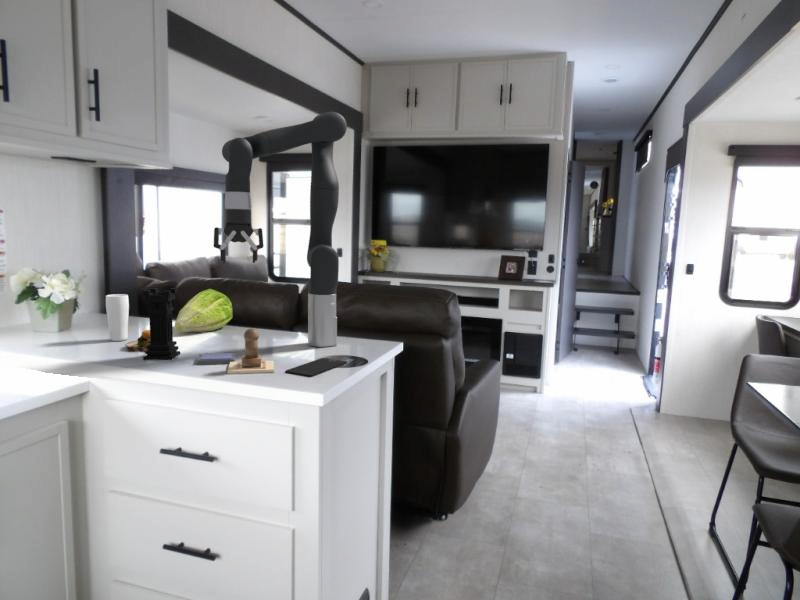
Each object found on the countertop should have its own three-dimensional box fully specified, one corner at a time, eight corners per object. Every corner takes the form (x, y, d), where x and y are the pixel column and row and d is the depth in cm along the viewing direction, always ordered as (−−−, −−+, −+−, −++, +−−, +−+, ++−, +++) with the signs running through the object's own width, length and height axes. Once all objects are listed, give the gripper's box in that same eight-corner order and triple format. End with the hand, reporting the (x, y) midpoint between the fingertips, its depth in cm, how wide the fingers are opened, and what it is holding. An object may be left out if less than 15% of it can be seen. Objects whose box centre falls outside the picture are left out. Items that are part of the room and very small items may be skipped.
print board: (273, 363, 159) (273, 359, 159) (274, 372, 150) (273, 368, 149) (230, 364, 156) (230, 361, 156) (227, 373, 147) (227, 370, 147)
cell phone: (347, 364, 162) (347, 361, 162) (311, 378, 146) (311, 375, 146) (322, 360, 166) (322, 357, 166) (284, 374, 150) (284, 370, 150)
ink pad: (235, 357, 165) (235, 352, 165) (234, 363, 158) (234, 358, 158) (200, 357, 163) (200, 353, 163) (196, 364, 155) (196, 359, 155)
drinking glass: (102, 340, 183) (100, 295, 181) (119, 337, 189) (118, 293, 187) (117, 342, 180) (115, 297, 178) (134, 339, 186) (133, 295, 184)
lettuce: (203, 350, 193) (169, 351, 200) (243, 317, 214) (211, 318, 220) (187, 313, 188) (153, 315, 194) (229, 282, 208) (197, 285, 214)
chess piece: (153, 353, 167) (150, 287, 164) (180, 353, 168) (178, 288, 165) (143, 359, 159) (140, 290, 157) (171, 360, 160) (169, 291, 157)
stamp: (261, 363, 156) (261, 326, 155) (260, 367, 151) (260, 330, 150) (242, 363, 155) (242, 327, 153) (241, 368, 150) (241, 330, 149)
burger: (153, 343, 183) (152, 320, 182) (174, 348, 176) (173, 325, 175) (117, 349, 173) (116, 325, 172) (137, 354, 166) (136, 330, 165)
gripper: (262, 209, 170) (263, 261, 172) (214, 207, 166) (215, 261, 168) (263, 208, 162) (263, 263, 165) (211, 207, 159) (213, 263, 161)
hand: (239, 262), depth 166 cm, fingers open, 8 cm apart
